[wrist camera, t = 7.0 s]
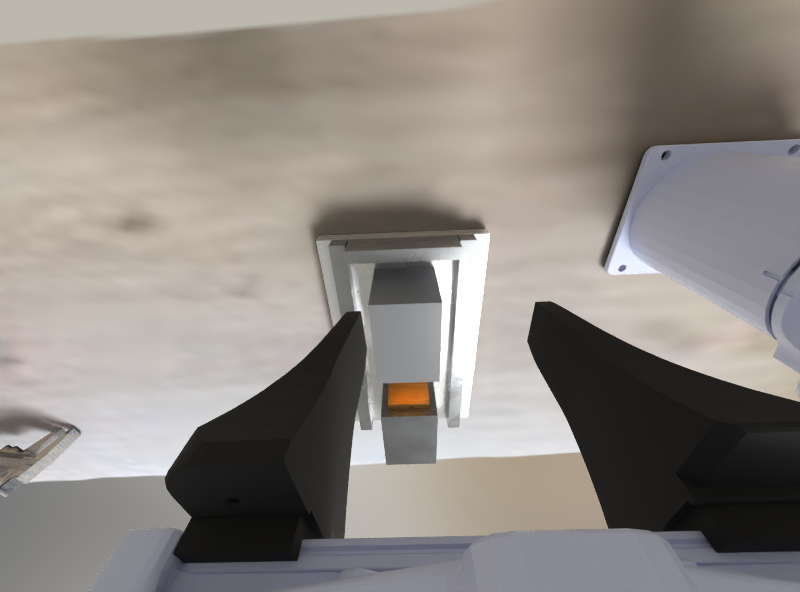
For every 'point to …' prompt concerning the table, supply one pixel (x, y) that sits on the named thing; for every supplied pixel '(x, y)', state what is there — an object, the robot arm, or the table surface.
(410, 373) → the block
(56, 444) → the caliper
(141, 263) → the table surface
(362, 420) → the rail
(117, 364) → the table surface
